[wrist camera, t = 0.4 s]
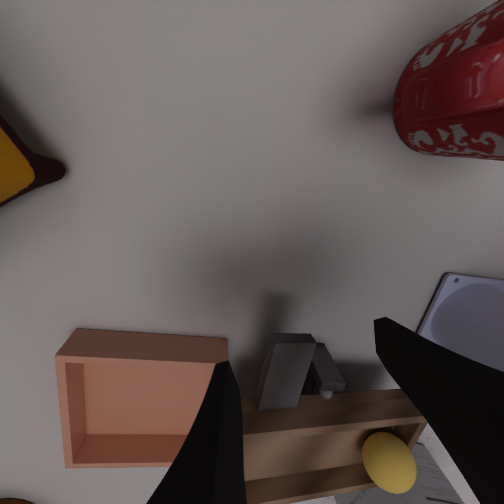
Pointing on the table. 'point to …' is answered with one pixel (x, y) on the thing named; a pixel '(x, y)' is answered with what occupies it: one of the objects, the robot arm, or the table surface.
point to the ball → (389, 462)
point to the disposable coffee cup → (12, 501)
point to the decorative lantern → (23, 166)
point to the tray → (131, 395)
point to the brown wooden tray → (313, 429)
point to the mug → (457, 91)
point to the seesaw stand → (322, 373)
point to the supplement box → (419, 495)
